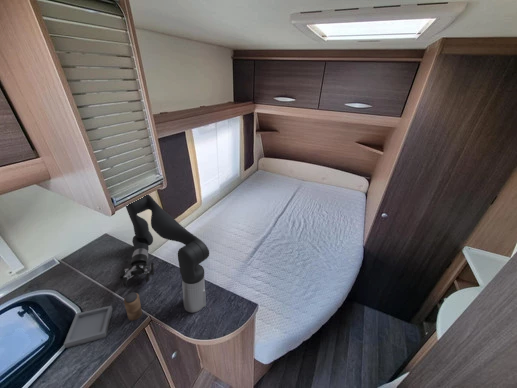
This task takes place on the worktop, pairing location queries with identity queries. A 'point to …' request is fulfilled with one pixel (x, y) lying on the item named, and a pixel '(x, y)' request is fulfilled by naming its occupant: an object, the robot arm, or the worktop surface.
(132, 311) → the wooden cylinder
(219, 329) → the worktop surface
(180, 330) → the worktop surface
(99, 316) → the grey square tray
